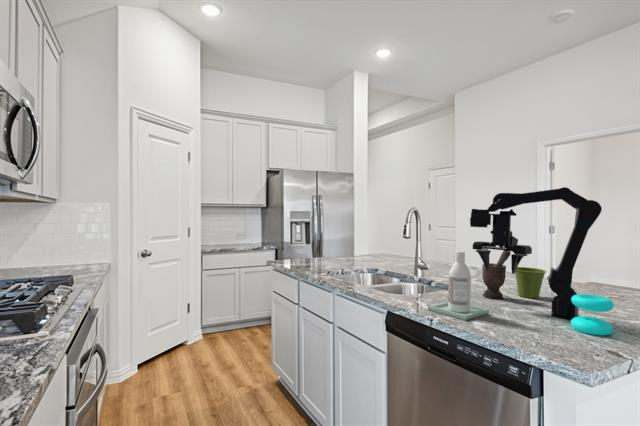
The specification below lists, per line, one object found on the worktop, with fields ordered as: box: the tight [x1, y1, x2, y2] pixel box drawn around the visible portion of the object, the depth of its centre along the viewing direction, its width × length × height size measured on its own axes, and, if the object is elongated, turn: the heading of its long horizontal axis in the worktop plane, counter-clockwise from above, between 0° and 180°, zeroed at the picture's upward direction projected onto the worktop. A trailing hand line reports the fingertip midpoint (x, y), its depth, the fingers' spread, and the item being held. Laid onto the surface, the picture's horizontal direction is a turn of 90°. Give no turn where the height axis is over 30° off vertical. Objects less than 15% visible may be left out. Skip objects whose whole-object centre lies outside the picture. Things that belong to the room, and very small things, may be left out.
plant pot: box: [514, 266, 547, 299], centre depth 147 cm, size 12×12×11 cm
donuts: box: [570, 293, 615, 337], centre depth 105 cm, size 10×10×10 cm
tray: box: [427, 301, 490, 322], centre depth 122 cm, size 14×14×2 cm
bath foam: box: [447, 250, 472, 313], centre depth 122 cm, size 7×7×20 cm
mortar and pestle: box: [481, 250, 512, 300], centre depth 143 cm, size 12×9×20 cm
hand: (500, 271), depth 129 cm, fingers open, 9 cm apart
